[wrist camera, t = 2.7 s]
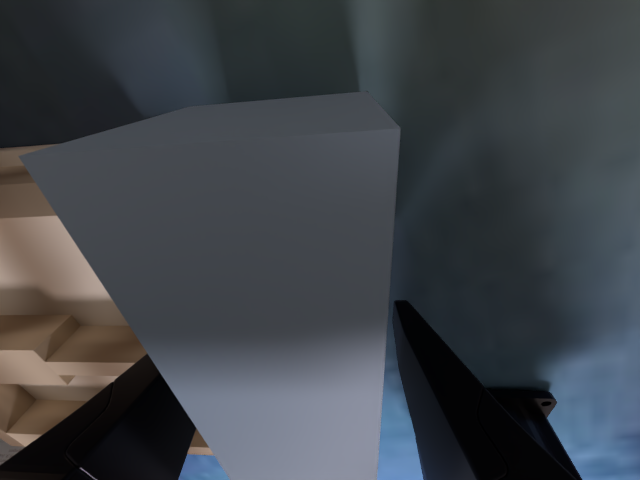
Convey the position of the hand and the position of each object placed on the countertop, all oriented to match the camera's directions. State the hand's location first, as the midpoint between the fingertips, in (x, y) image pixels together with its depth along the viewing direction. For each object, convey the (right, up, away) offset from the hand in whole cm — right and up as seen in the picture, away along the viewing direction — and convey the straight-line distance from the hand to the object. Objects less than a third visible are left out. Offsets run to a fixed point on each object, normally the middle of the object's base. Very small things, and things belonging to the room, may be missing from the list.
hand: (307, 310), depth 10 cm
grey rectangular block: (0, +1, +2) cm, 2 cm away
